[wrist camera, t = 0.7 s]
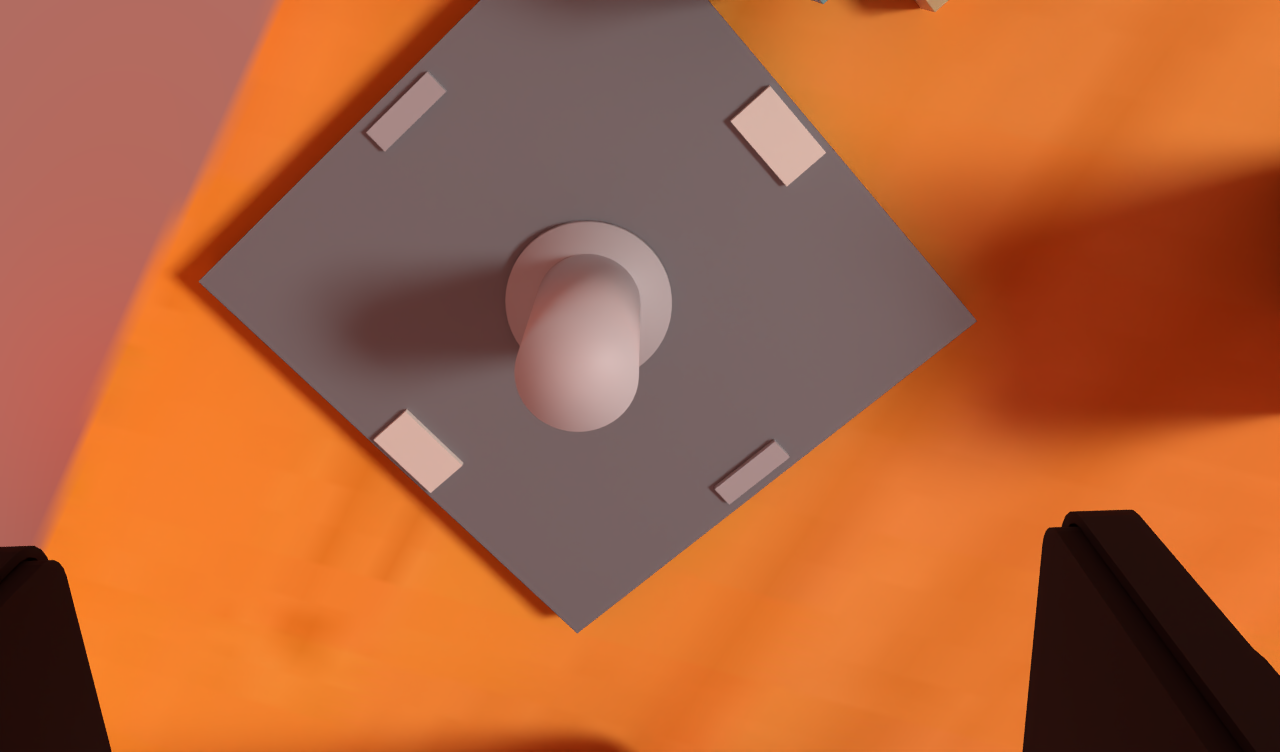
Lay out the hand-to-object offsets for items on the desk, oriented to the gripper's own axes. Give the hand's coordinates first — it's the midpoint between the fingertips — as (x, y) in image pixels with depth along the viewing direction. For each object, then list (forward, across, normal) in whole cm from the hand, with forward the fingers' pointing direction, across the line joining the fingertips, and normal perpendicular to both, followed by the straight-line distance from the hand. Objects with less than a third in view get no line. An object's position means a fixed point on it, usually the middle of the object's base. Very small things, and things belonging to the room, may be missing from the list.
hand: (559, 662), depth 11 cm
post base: (+24, +1, +3) cm, 24 cm away
